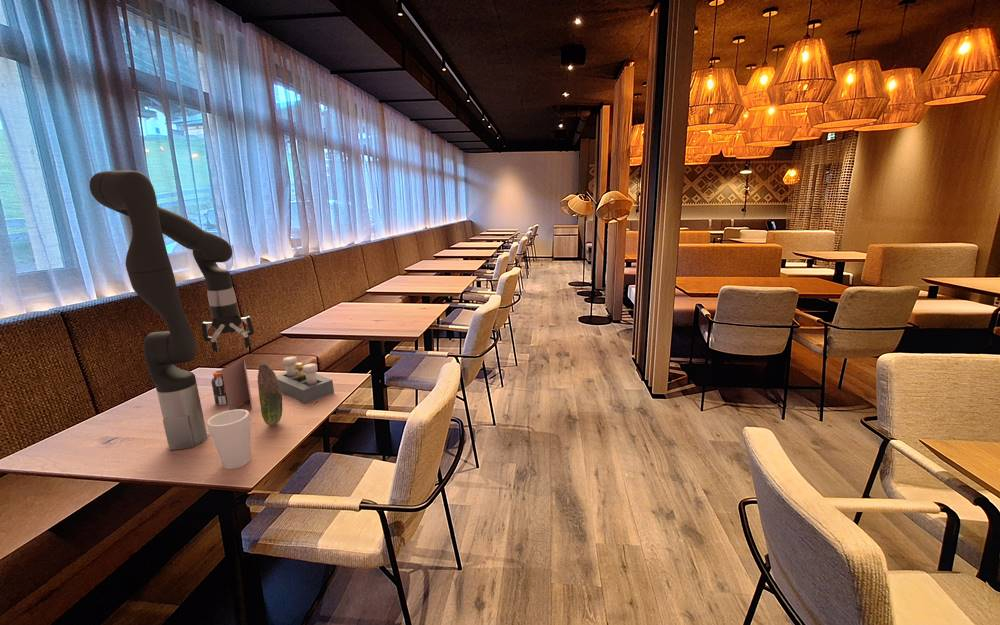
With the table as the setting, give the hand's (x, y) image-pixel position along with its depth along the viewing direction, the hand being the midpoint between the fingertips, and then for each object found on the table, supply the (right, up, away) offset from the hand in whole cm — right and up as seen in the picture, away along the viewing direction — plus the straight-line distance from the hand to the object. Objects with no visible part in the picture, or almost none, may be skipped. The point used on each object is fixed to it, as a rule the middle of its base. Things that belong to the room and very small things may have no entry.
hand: (232, 349), depth 147 cm
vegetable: (+18, -23, -8) cm, 30 cm away
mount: (+16, -17, +16) cm, 28 cm away
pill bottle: (-8, -19, +9) cm, 23 cm away
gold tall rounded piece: (+16, -13, +15) cm, 26 cm away
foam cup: (+19, -28, -29) cm, 44 cm away
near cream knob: (+22, -13, +11) cm, 28 cm away
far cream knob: (+11, -12, +19) cm, 25 cm away
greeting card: (+2, -20, +6) cm, 21 cm away
